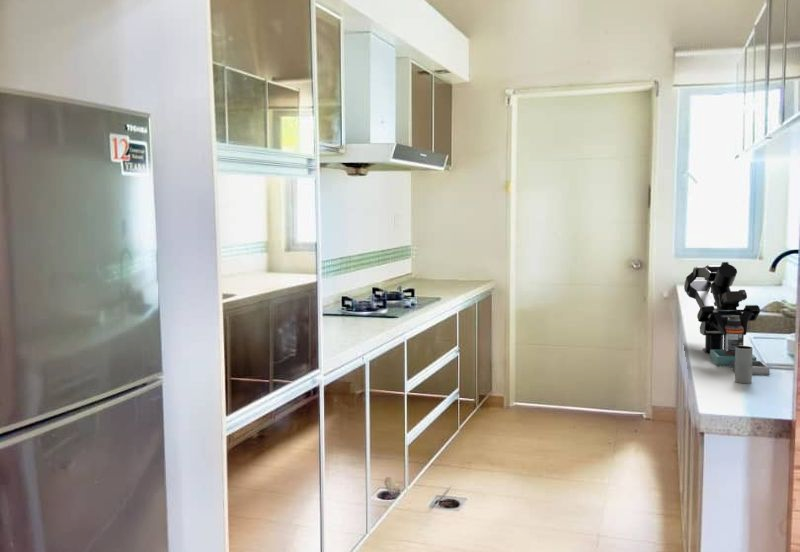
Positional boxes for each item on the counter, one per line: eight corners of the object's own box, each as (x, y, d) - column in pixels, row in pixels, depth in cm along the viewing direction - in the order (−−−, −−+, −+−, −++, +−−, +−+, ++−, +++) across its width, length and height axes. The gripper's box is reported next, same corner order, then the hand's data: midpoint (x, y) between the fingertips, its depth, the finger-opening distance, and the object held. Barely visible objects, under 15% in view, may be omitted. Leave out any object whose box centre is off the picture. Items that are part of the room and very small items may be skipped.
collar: (730, 367, 237) (730, 360, 236) (761, 367, 235) (761, 360, 234) (736, 373, 228) (737, 366, 227) (769, 374, 226) (769, 367, 225)
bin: (710, 358, 250) (710, 349, 249) (747, 359, 247) (747, 350, 247) (717, 366, 238) (717, 356, 238) (756, 366, 236) (756, 357, 236)
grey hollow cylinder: (732, 379, 220) (732, 345, 219) (747, 379, 220) (748, 345, 219) (738, 383, 216) (739, 348, 215) (754, 383, 216) (755, 348, 215)
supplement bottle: (726, 350, 246) (727, 317, 245) (745, 353, 243) (746, 318, 241) (720, 354, 242) (721, 320, 241) (740, 356, 238) (741, 321, 237)
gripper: (701, 281, 244) (713, 321, 234) (759, 280, 243) (773, 319, 233) (692, 301, 253) (703, 340, 243) (748, 300, 252) (761, 339, 242)
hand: (735, 334), depth 240 cm, fingers closed on supplement bottle, 6 cm apart
